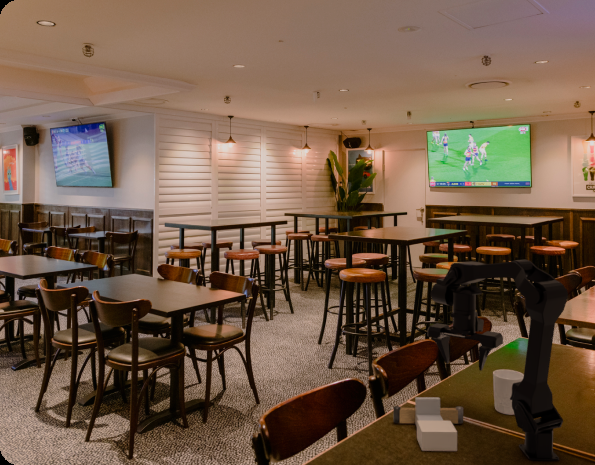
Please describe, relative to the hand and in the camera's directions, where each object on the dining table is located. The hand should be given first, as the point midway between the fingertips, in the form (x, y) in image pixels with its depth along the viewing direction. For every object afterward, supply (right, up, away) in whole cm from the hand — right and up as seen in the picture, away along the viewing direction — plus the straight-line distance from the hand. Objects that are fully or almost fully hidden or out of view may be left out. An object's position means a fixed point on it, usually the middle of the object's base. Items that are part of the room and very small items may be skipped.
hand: (463, 366), depth 136 cm
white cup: (+13, -13, +3) cm, 19 cm away
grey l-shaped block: (-11, -13, -9) cm, 20 cm away
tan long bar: (-11, -13, -5) cm, 18 cm away
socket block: (-12, -14, -16) cm, 24 cm away
